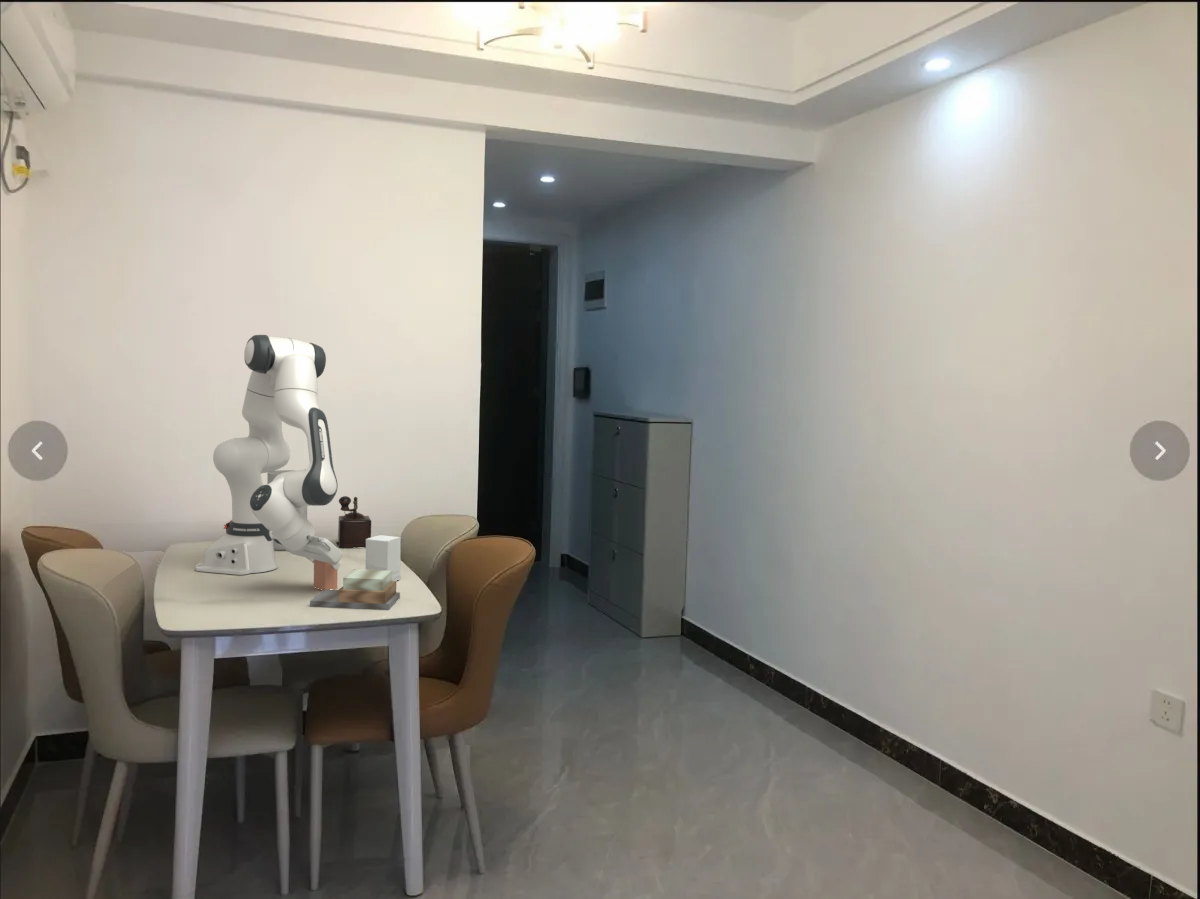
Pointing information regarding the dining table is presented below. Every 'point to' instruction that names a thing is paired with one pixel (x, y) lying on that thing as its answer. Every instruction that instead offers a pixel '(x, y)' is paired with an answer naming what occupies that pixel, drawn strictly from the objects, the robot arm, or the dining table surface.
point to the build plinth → (333, 598)
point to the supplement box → (384, 554)
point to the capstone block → (324, 576)
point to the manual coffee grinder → (352, 526)
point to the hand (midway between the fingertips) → (327, 565)
